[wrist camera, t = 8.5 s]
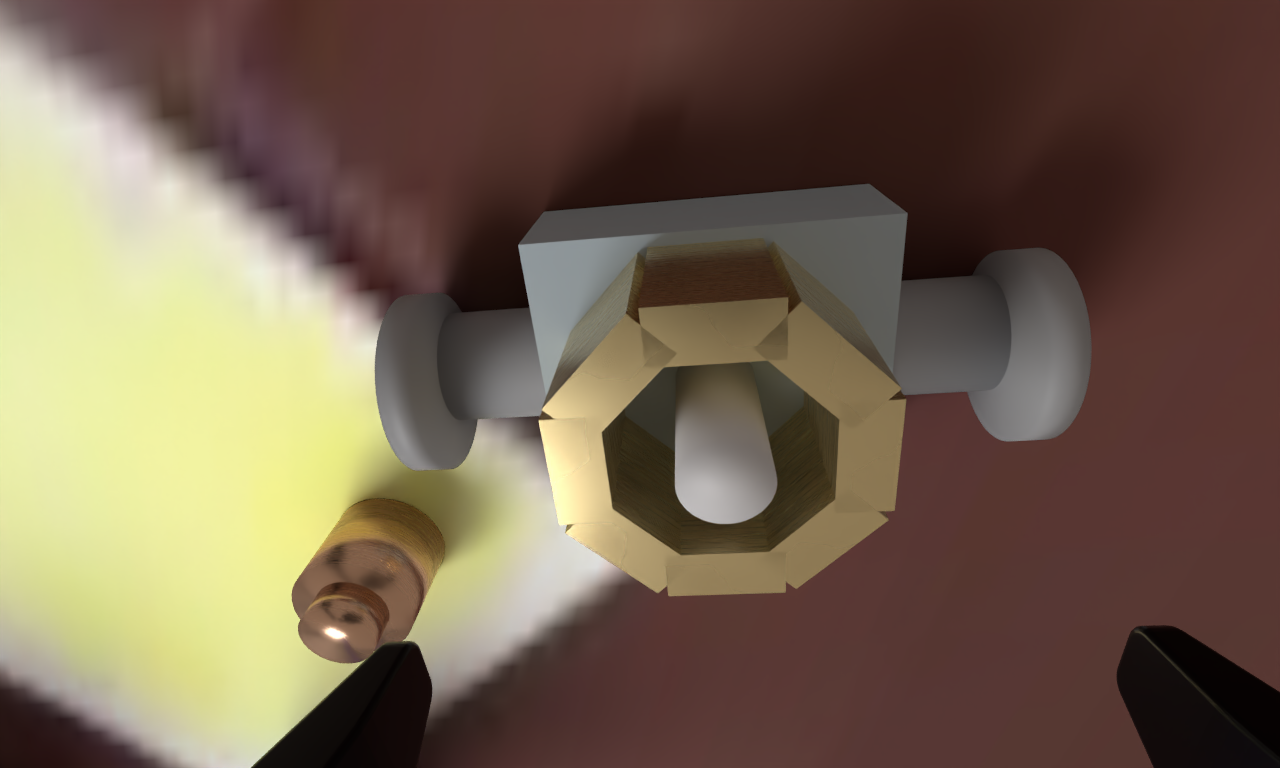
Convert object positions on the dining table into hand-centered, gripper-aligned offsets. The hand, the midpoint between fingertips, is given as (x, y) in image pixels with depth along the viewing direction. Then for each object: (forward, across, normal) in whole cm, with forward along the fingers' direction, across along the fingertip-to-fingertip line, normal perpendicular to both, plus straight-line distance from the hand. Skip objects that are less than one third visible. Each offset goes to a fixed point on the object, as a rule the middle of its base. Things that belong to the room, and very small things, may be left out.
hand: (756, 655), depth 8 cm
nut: (+8, 0, 0) cm, 8 cm away
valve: (+11, 0, 0) cm, 11 cm away
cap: (+11, +11, +7) cm, 17 cm away
